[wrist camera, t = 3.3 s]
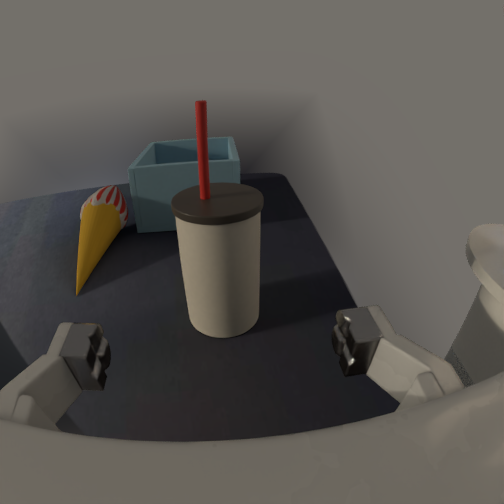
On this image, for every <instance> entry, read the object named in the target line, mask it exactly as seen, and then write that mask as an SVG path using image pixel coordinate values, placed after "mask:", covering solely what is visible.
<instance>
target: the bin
mask: <svg viewBox="0 0 504 504" xmlns="http://www.w3.org/2000/svg"><path fill="white" fill-rule="evenodd" d="M208 159H209V180H210V183H219V182H227V183H238V184H240V160H239V156H238V153H237V150H236V146H235V143H234V140H233V137H217V138H216V137H215V138H208ZM128 175H129V182H130V189H131V196H132V202H133V208H134V214H135V220H136V226H137V232H138V233H145V232H159V231H174V230H177V227H176V218H175V215H174V214H173V212H172V209H171V200H172V198H173V197H174V196H175V195H176V194H177V193H179V192H180V191H182V190H184V189H187V188H190V187H193V186H196V185H199V170H198V153H197V139H184V140H171V141H161V142H151V143H150V144H149V145H148V146H147V147H146V149H145V150H144V151H143V152H142V153H141V154H140V155H139V156H138V158H137V159H136V160H135V161H134V162H133V163H132V165H131V166H130V167H129V168H128Z"/></svg>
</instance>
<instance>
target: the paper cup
mask: <svg viewBox="0 0 504 504" xmlns="http://www.w3.org/2000/svg"><path fill="white" fill-rule="evenodd" d="M195 108H196V131H197V132H196V133H197V153H198V170H199V185H196V186H193V187H190V188H187V189H184V190H182V191H180V192H179V193H177V194H176V195H175V196H174V197H173V198H172V200H171V209H172V212H173V214H174V215H175V218H176V227H177V235H178V243H179V251H180V258H181V265H182V272H183V279H184V286H185V292H186V299H187V305H188V311H189V317H190V321H191V323H192V325H193V326H194V327H195V328H196V329H197V330H198V331H199V332H201V333H203V334H205V335H208V336H211V337H217V338H228V337H234V336H238V335H240V334H243V333H245V332H246V331H248V330H249V329H251V328H252V327H253V326H254V324H255V323H256V322H257V320H258V317H259V280H260V211H261V210H262V208H263V202H264V198H263V195H262V193H261V192H260V191H259V190H257V189H255V188H253V187H251V186H247V185H243V184H238V183H227V182H219V183H210V180H209V159H208V136H207V111H206V110H207V108H206V101H196V102H195Z"/></svg>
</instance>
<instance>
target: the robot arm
mask: <svg viewBox="0 0 504 504" xmlns="http://www.w3.org/2000/svg"><path fill="white" fill-rule="evenodd" d="M503 10H504V9H503ZM335 319H336V321H337V325H336V326H335V327H334V328H333V332H332V345H333V349H334V351H335V353H336V354H337V355H338V356H340V361H339V364H340V367H341V369H342V372H343V374H344V377H347V376H354V375H360V374H366V373H367V374H366V375H368V376H369V377H370V378H371V379H372V380H373V381H375V382H376V383H377V384H378V385H379V386H381V387H382V388H383V389H384V390H385V391H386V392H388V393H389V394H390V395H391V396H392V397H394V398H395V399H396V400H397V401H398V402H400V405H399V406H398V408H397V409H396V411H395V412H393V413H389V414H386V415H382V416H378V417H374V418H370V419H366V420H362V421H358V422H354V423H349V424H344V425H340V426H335V427H330V428H324V429H319V430H313V431H307V432H301V433H294V434H287V435H279V436H271V437H262V438H252V439H240V440H225V441H201V442H160V441H137V440H122V439H111V438H101V437H92V436H85V435H77V434H71V433H64V432H61V431H60V430H59V428H58V427H57V426H56V425H55V424H56V422H57V421H58V420H59V419H60V417H61V416H62V415H63V414H64V413H65V411H66V410H67V409H68V408H69V407H70V406H71V404H72V403H73V402H74V401H75V400H76V398H77V397H78V396H79V395H80V394H81V393H82V390H92V391H104V386H105V382H106V378H107V375H106V373H105V370H106V369H107V368H108V367H109V365H110V360H111V351H110V346H109V343H108V341H107V340H106V339H105V338H103V337H102V336H103V333H104V331H103V329H102V326H101V325H100V324H95V323H65V322H62V323H61V324H60V325H59V327H58V329H57V331H56V334H55V336H54V338H53V340H52V343H51V345H50V347H49V350H48V352H47V355H42V356H41V357H40V358H39V359H37V360H36V361H35V362H34V363H32V364H31V365H30V366H29V367H28V368H26V369H25V370H24V371H23V372H22V373H20V374H19V375H18V376H17V377H15V378H14V379H13V380H12V381H11V382H10V383H8V384H7V385H6V386H5V387H4V388H3V389H1V391H0V504H504V371H503V372H501V373H499V374H497V375H494V376H492V377H490V378H488V379H485V380H483V381H481V382H479V383H476V384H474V385H471V386H469V387H466V388H465V387H464V385H463V383H462V382H461V380H460V378H459V377H458V375H457V373H456V372H455V370H454V369H453V367H452V365H451V364H450V363H449V362H447V361H445V360H443V359H442V358H440V357H438V356H437V355H435V354H433V353H431V352H430V351H428V350H426V349H425V348H423V347H421V346H420V345H418V344H416V343H414V342H413V341H411V340H409V339H408V338H406V337H404V336H402V335H397V334H396V332H395V330H394V329H393V327H392V325H391V324H390V322H389V320H388V319H387V317H386V316H385V314H384V312H383V311H382V309H381V308H380V306H378V305H373V306H366V307H359V308H352V309H344V310H338V312H337V314H336V318H335Z"/></svg>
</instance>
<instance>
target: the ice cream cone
mask: <svg viewBox="0 0 504 504" xmlns="http://www.w3.org/2000/svg"><path fill="white" fill-rule="evenodd" d="M80 218H81V226H80V237H79V248H78V263H77V285H76V296H77V294H78V293H79V291H80V290H81V288H82V286H83V285H84V283H85V282H86V280H87V278H88V277H89V275H90V274H91V272H92V271H93V269H94V268H95V266H96V265H97V263H98V262H99V260H100V259H101V257H102V256H103V254H104V253H105V251H106V250H107V248H108V247H109V245H110V244H111V243H112V241H113V240H114V238H115V237H116V235H117V234H118V233H119V232H120V230H121V229H123V228H124V227H125V225H126V222H127V219H128V208H127V204H126V201H125V198H124V196H123V194H122V193H121V191H120V190H119V189H118V187H117V186H115V185H110V186H106V187H103V188H101V189H99V190H98V191H97V192H96V193H94V194H92V195H91V196H90V197H89V198H88V199H87V201H86V202H85V203H84V204H83V206H82V208H81V212H80Z"/></svg>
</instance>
